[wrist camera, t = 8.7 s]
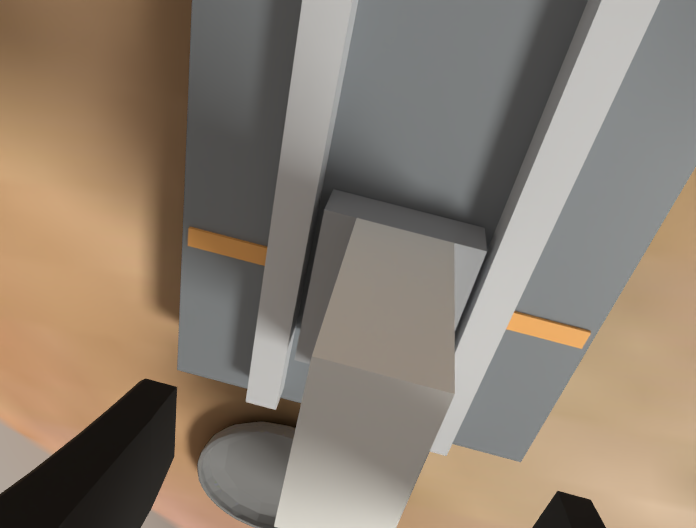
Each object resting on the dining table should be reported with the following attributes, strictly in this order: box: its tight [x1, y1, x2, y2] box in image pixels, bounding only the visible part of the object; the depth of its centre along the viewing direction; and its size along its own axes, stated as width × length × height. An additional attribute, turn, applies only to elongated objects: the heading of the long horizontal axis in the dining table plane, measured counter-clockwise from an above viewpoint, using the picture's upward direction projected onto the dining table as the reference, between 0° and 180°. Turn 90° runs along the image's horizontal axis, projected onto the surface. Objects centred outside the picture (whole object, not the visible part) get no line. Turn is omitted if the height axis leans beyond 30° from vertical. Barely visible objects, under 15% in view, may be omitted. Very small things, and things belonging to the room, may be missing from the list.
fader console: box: [177, 0, 696, 462], centre depth 13 cm, size 12×23×3 cm, turn 168°
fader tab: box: [274, 189, 487, 528], centre depth 13 cm, size 4×5×6 cm
